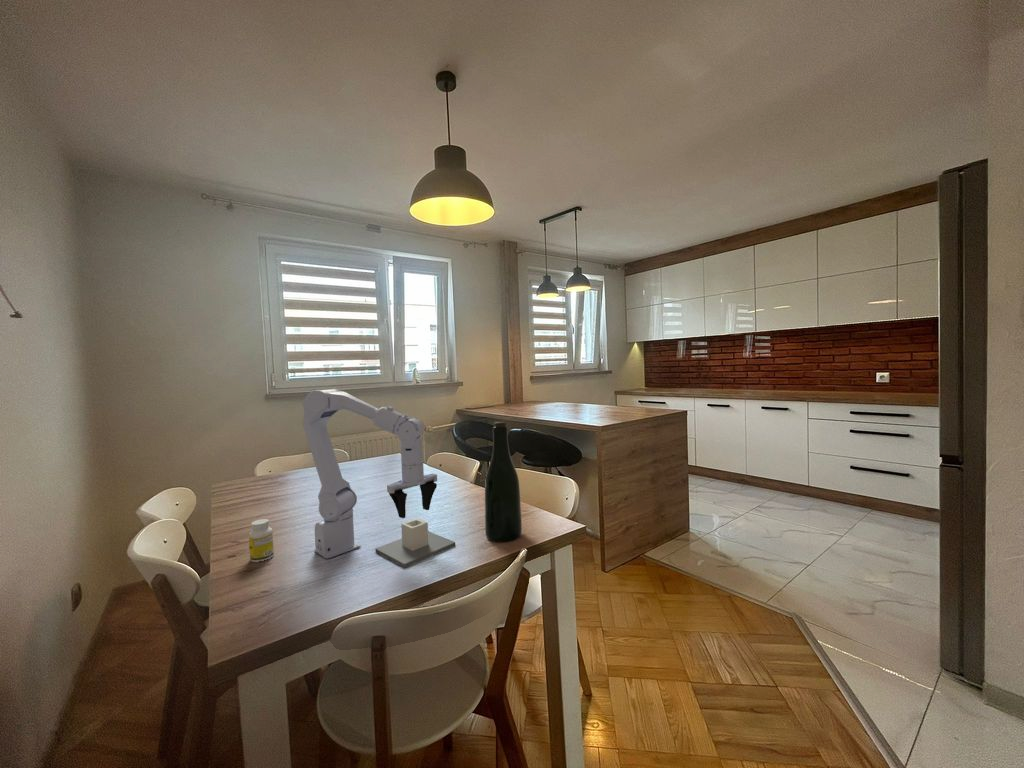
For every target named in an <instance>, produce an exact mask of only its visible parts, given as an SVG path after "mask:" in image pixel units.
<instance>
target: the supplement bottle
mask: <svg viewBox="0 0 1024 768" xmlns="http://www.w3.org/2000/svg"><path fill="white" fill-rule="evenodd" d="M250 526H251V531H250V532H249V534H248V545H249V559H250V562H252V563H260V562H259V561H262V562H265V561H267V559H268V560H270V559H272V558H273V556H275V547H274V532H273V528H272V527H270V520H269V519H268V518H263V519H262V518H261V519H257V520H254V521H252V522H251V524H250ZM271 557H272V558H271ZM264 560H265V561H264Z"/></svg>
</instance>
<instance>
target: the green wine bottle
mask: <svg viewBox="0 0 1024 768" xmlns="http://www.w3.org/2000/svg"><path fill="white" fill-rule="evenodd" d="M493 425H494V426H493V427H492V442H493V443H492V453H491V459H490V462H489V465H488V469H487V471H486V475H485V479H484V524H485V525H484V526H485V527H484V529H485V537H486V538H487V539H488V540H489V541H491V542H496V543H509V542H513V541H516V540H518V539H519V538H520V537H521V536H522V532H523V530H522V529H523V526H522V507H521V506H522V504H521V489H520V480H519V475H518V472H517V468H515V464H514V462H513V460H512V457H511V453H510V447H509V439H508V438H509V436H508V433H509V428H508V426H507V423H506V422H505V421H494V423H493Z"/></svg>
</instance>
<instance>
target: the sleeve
mask: <svg viewBox="0 0 1024 768" xmlns="http://www.w3.org/2000/svg"><path fill="white" fill-rule="evenodd" d="M428 524H429V522H427V521H425V520H422V519H420V518H415V519H411V520H409V521H406V522H403V523H401V526H400V527H401V539H402V546H404V547H406V548H408V549H410V550H412V551H414V550H416V549H419V548H421V547H423V546H426V545H428V531H429V525H428Z"/></svg>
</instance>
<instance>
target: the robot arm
mask: <svg viewBox="0 0 1024 768" xmlns="http://www.w3.org/2000/svg"><path fill="white" fill-rule="evenodd" d="M302 406H303V409H304V411H303V416H302V417H303V418H302V427H303V430H304V434H305V436H306V441H307V443H308V446H309V450H310V452H311V456H312V460H313V462H314V466H315V469H316V471H317V474H318V478H319V481H320V485H321V488H320V490H319V492H318V496H317V499H318V502H319V504H318V512H319V514H320V517H322V520H320V521H318V522H316V523H315V524H314V544H315V547H314V552H316V553H317V554H319V555H320V556H321V557H323V558H324V559H326V560H327V559H330V558H334V557H336V556H339V555H341V554H345V553H347V552H350V551H353V550H356V549H358V548H361V544H359V543H358V542H356V541H355V531H354V530H355V529H354V525H355V524H354V507H355V506H356V504H357V502H358V498H357V494H356V493H355V491H354V490H353V488H352V487H351V485H350V482H349V481H347V480H346V479H344V478H343V475H342V473H341V469H340V466H339V463H338V459H337V456H336V452H335V450H334V447H333V443H332V441H331V440H332V439H331V436H330V434H329V431H328V428H327V424H328V423H329V421H330V420H331V418H332V417H333V416H334V415H335V414H336V413H338V412H339V411H341V410H346V411H349V412H351V413H354V414H356V415H359V416H362V417H364V418H367V419H370V420H371V421H372V422H373V425H374V426H375V427H377V428H380V429H382V430H384V431H386V432H388V433H390V434H393V435H395V436H397V438H398V439H399V440H400V461H401V463H400V464H401V479H400V480H397V481H395V482H393V483H390V484H387V485H386V492H387V493H388V495H389V496H390V498H391V500H392V501H393V503H394V505H395V508H396V511H397V515H398V517H399V518H401V519H406V513H407V512H406V511H407V510H406V502H407V496H408V494H407V493H406V492H404V490H407V489H409V488H415V487H419V488H420V493H421V505H422V509H423V510H425V511H430V507H431V503H432V499H433V495H434V493H435V491H436V490H437V487H438V486H437V483H436V482H438V474H437V473H428V474H424V472H425V471H424V469H425V468H424V448H423V435H424V432H425V425H424V423H423V421H422V420H421V419H419V418H418V417H415V416H413V417H412V416H411V417H410V415H409V414H407V413H405V414H402V413H401V412H398V411H396V410H394V407H393V406H390V405H389V406H382V407H380V408H378V407H376V406H374V405H372V404H369V403H368V402H366V401H364V400H362V399H359V398H357V397H355V396H354V395H352V394H349V393H348V392H346V391H342V390H339V389H338V388H331V389H330V388H329V389H321V390H320V389H316V390H312V391H310V392H309V393H308V394H307V395H306V396H305V397H304V400H303V401H302Z"/></svg>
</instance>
